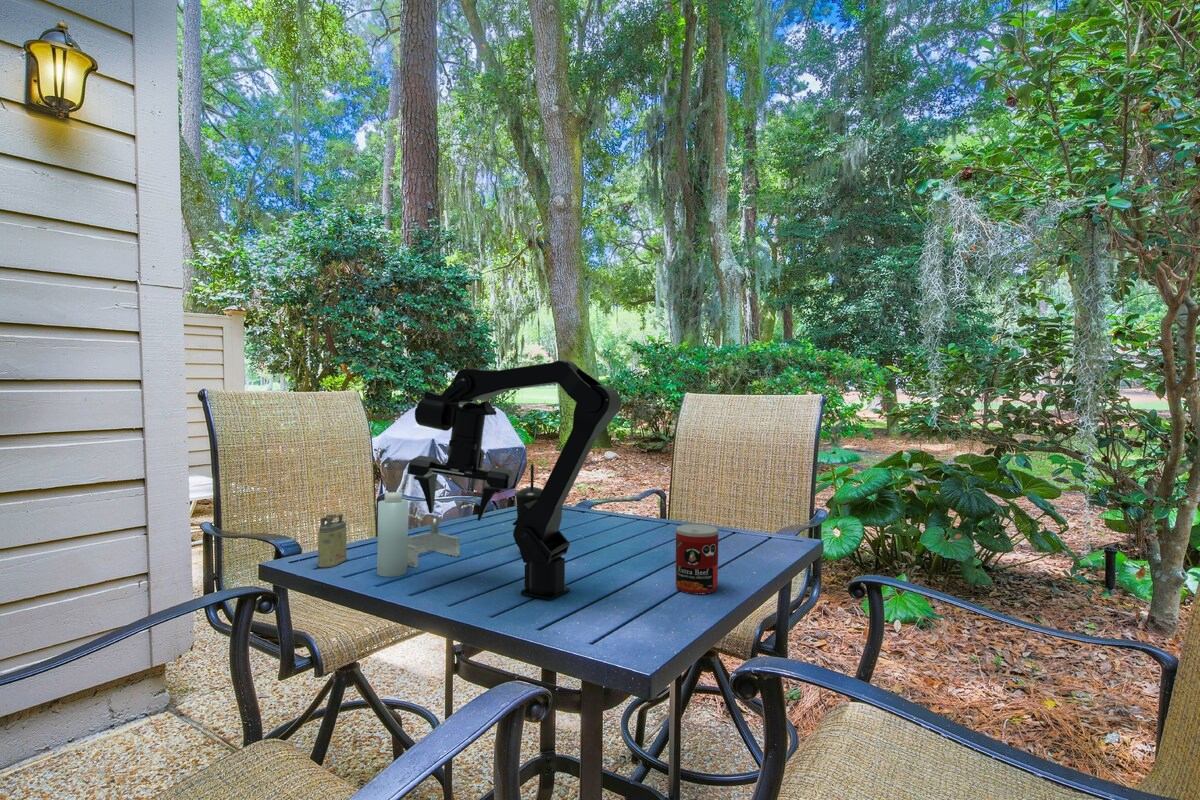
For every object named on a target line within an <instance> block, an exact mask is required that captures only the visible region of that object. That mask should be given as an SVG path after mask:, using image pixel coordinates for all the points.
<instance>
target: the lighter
mask: <svg viewBox="0 0 1200 800" xmlns="http://www.w3.org/2000/svg"><path fill="white" fill-rule="evenodd" d="M343 517H344V515H343V514H342V513H341V514H336V513H335V514H331V513H330V514H326V515H325V517H321V518H320V526H319V528H318V535H317V536H318V537H317V538H318V539H317V552H318V553H317V567H318V568H330V567H331V568H332V567H335V566H336V565H341V564H343V563H344V562H346V561H347V544H348V543H347V535H348V534H347V533H348V530H347V529H348V527H347V522H346V521H345V520H343ZM337 518H338V520H337V521H334V519H337ZM325 522H326V523H325Z"/></svg>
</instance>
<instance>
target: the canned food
mask: <svg viewBox="0 0 1200 800" xmlns="http://www.w3.org/2000/svg"><path fill="white" fill-rule="evenodd" d="M718 571H719V529H718V528H717V527H715V526H713V525H707V524H696V523H695V524H693V523H691V524H682V525H679V526H677V527H676V530H675V586H676V589H677V588H678V589H677V590H678V591H680V590H681V591H680V592H682V591H683V592H682V593H685V592H688V593H687V594H689V593H698V594H700V593H701V594H700V595H703V594H702V593H709V592H712V593H714V592H715V590H716V591H717V589H716V588H718V585H719V584H718V582H719V580H718V579H719V577H718V576H719V575H718V573H719V572H718ZM713 591H714V592H713ZM698 594H697V595H698ZM709 594H710V593H709Z"/></svg>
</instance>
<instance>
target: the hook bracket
mask: <svg viewBox="0 0 1200 800" xmlns="http://www.w3.org/2000/svg"><path fill="white" fill-rule="evenodd" d="M439 525H440V519H439V517H432V518H430V531H429V532H425V533H421V534H416V535H410V536H408V554H407V567H411V568H415V569H416V568H418V567H419V554H423V553H427V552H432V551H433V552H437V553H439V554H440V553H441V554H443V555H447V554H448V555H447V556H450V555H452V556H451V557H454V556H455V557H454V558H458V557H457V556H459V557H460V550H461V549H460V546H461V545H460V542H461V539H460V537H457V536H452V535H449V534H445V533H440V531H439V530H440V529H439V528H440V527H439Z"/></svg>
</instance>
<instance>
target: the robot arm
mask: <svg viewBox="0 0 1200 800" xmlns="http://www.w3.org/2000/svg"><path fill="white" fill-rule="evenodd" d="M557 384H558V385H559V386H560V387H561V388H562V389H563V390H564V392H565V393H566V394H567V396H568V397H570V398H571V399H572V400H573V401H574V402H575V406H574V410H573V416H572V417H573V418H572V427H571V431H570V433H569V435H568V437H567V438H566V441H565V443H564V446H563V447H562V449H561V452H560V454H559V456H558V458H557V460H556V462H555V464H554V466H553V468H552V470H551V473H550V475H549V476H548V478H547V480H546V482H545V484H544V486H543V490H542V493H541V495H540V497H539V498H538V500H535V501H533V502H530V503H527V504H524V505H522V507H521V510H520V513H519V516H518V518H516V520H515V521H514V522H512V526H514V529H513V532H512V537H513V538H514V542H515V544H516V545H517V548H518V549H519V554H520V553H521V555H520V556H521V559H522V561H523V563H525V564H524V585H523V586H524V589H521V590H520V595H524V596H528V597H529V596H530V597H533V598H537V599H543V600H546V601H551V600H554V599H555V598H558V597H559V596H561V595H563V594H565V593H567V592H569V591H570V587H569V586H565V585H566V584H565V582H566V581H565V579H566V576H565V575H566V574H565V573H566V572H565V571H566V568H565V567H566V564H565V563H566V558H565V557H562V556H564V555H566V554H567V553H568V551H569V548H570V546H571V545H570V541H569V540H568V539H567V538H566V537H565V535H564V534H563V533H562V532H561V531H560V526H561V524H562V523H561V522H562V515H563V506H564V504H565V502H566V500H567V498H568V496H569V493H570V491H571V489H572V487H573V485H575V484H574V483H575V481H576V479H577V478H578V476H579V473H580V471H581V469H582V467H583V465H584V463H585V461H586V460H587V457H588V455H589V453H590V452H591V449H592V447H593V445H594V443H595V441H596V439H597V438H598V437H599V435H601V433H603V431H604V430H605V429H606V428H608V426H609V425H610V424H611V422H612V421H613V420H614V418H615V416H616V415H617V414H618V413H619V411H620V409H621V406H622V400H621V397H620V394H619V392H618V391H617V390H616V389H615V388H614V387H612V386H609V385H603V384H602V383H601V382H599V380H597V379H595V378H594V377H593V376H591V375H590V374H589V373H586V372H585V371H584V370H582V369H581V368H580V367H579V366H578V365H577V364H576V363H575V362H573V361H570V360H566V359H565V360H564V359H557V360H555V361H553V362H547V363H539V364H532V365H525V366H520V367H512V368H504V369H498V370H497V369H486V368H485V369H484V368H462V369H459V370H458V371H457V372H456V374H455V376H454V379H453V381H452V382H451V383H450V384H449V385H448V386H447V388H446V389H445V390H444V391H443V392H442V394H441V393H438V392H434V391H425V392H424V397H423V398H422V399H420V401H418V403H417V406H416V407H415V410H414V419H415V422H416V423H417V425H419V426H420V427H427V428H431V429H436V430H439V431H444V432H448V431H450V430H451V433H450V440H449V442H448V450H447V453H446V454H447V461H446V463H441V462H439V459H438V457H432V456H427V455H419V456H416V457H414V458H412V459H411V460H410V461H409V463H408V465H407V471H406V472H407V474H408V475H413V480H415V481H418V483H419V485H420V488H421V490H422V492H423V496H424V499H425V502H426V506H427V510H428V512H429V513H428V514H433V513H434V510H435V509H434V508H435V500H436V485H437V484H436V483H437V479H438V475H439V474H442V475H449V476H454V477H461V478H468V479H474V480H481V481H486V485H485V486H484V487H483V491H482V495H481V500H480V503H479V509H478V513H477V521H478V522H480V521H481V520H482V518H483V515H484V514H485V511H486V509H487V508H488V506H489V503H490V501H491V500H492V498H493V497H494V495H495V493H500V492H501V491H502V490H505V489H507V490H508V489H509V487H511V485H512V484H513V477H514V476H513V475H514V472H513V471H512V470H511V469H510V468H505V467H497V466H496V467H495V466H492V467H491V468H490V469H489V470H486V469H485V470H484V469H482V468H483V464H484V458H485V451H484V450H483V449H482V445H483V443H482V442H483V434H484V427H485V421H486V420H485V419H486V416H495V415H497V414H498V413H497V411H496V409H495V408H494V407H493V406H492V404H491V402H490V401H484V400H488V399H490V398H491V399H492V398H495V397H497V396H499V395H501V394H504V393H505V392H509V391H512V390H521V389H528V388H535V387H543V386H549V385H557ZM477 400H479V401H482V402H481V403H474V401H477ZM460 403H464V404H463V405H460Z"/></svg>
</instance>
